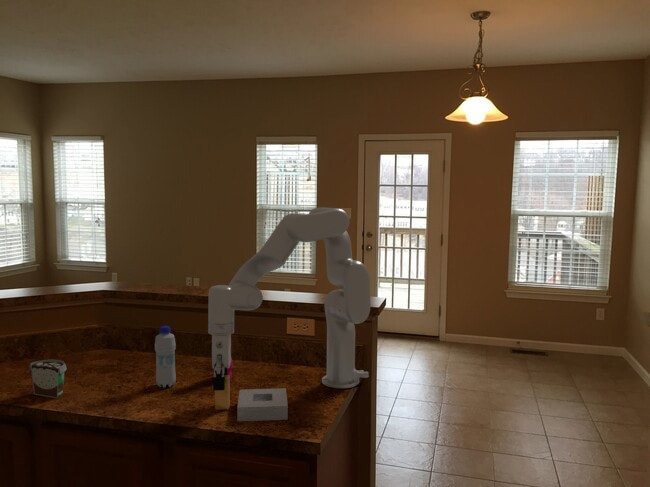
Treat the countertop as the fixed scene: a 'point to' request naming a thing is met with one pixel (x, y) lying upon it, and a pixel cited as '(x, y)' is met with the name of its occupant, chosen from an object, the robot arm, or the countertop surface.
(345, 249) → the robot arm
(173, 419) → the countertop surface
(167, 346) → the bottle
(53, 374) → the food container
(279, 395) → the white flat block
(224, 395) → the wooden block
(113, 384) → the countertop surface
